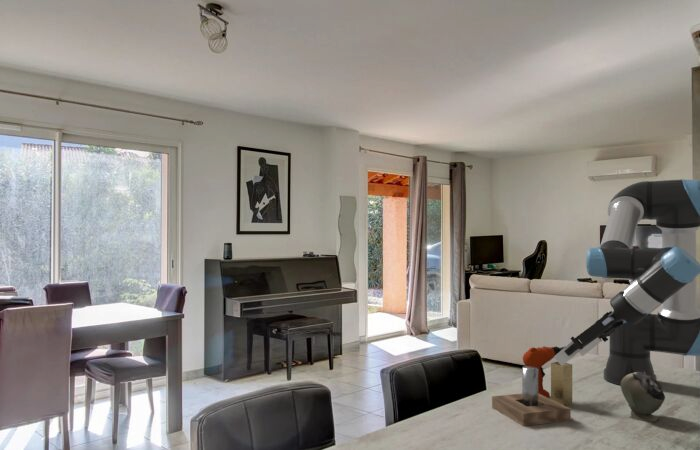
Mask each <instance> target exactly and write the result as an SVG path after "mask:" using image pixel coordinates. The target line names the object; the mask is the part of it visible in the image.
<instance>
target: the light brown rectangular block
mask: <svg viewBox="0 0 700 450" xmlns="http://www.w3.org/2000/svg"><path fill="white" fill-rule="evenodd" d="M550 399H551V400H554V401H556V402H558V403H560V404H562V405H564V406H566V407H567V406H569V405H573V364H572V363H569V362H566V363H565V364H564V365H563V366H561V365H560V363H559V362H558V361H555V362H550Z"/></svg>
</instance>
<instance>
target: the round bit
mask: <svg viewBox="0 0 700 450" xmlns="http://www.w3.org/2000/svg"><path fill="white" fill-rule="evenodd" d="M521 369H522V370H521V371H522V375H521V377H522V378H521V380H522V381H521V383H522V384H521V388H522V389H521V394H522V404H523V405H525V406H527V407H529V406H538V368H536V367H532V366H526V365H524V366H522V368H521Z"/></svg>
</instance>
